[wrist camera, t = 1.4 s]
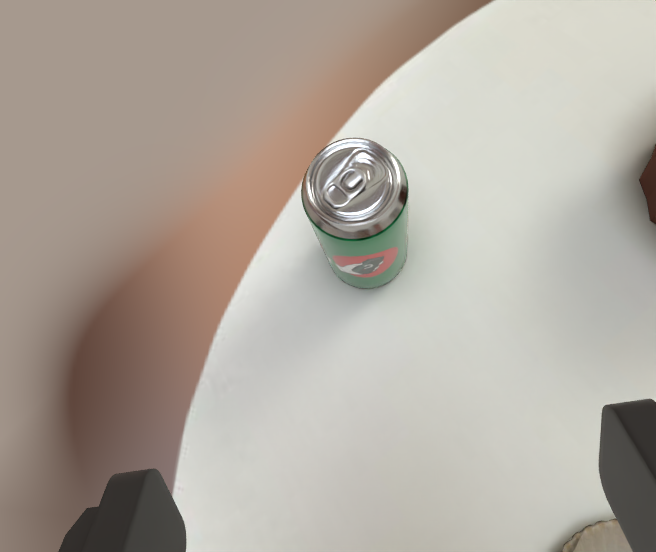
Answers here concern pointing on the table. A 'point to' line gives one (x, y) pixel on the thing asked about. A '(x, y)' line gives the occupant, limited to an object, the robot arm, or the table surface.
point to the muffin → (650, 185)
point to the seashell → (599, 539)
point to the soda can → (358, 210)
